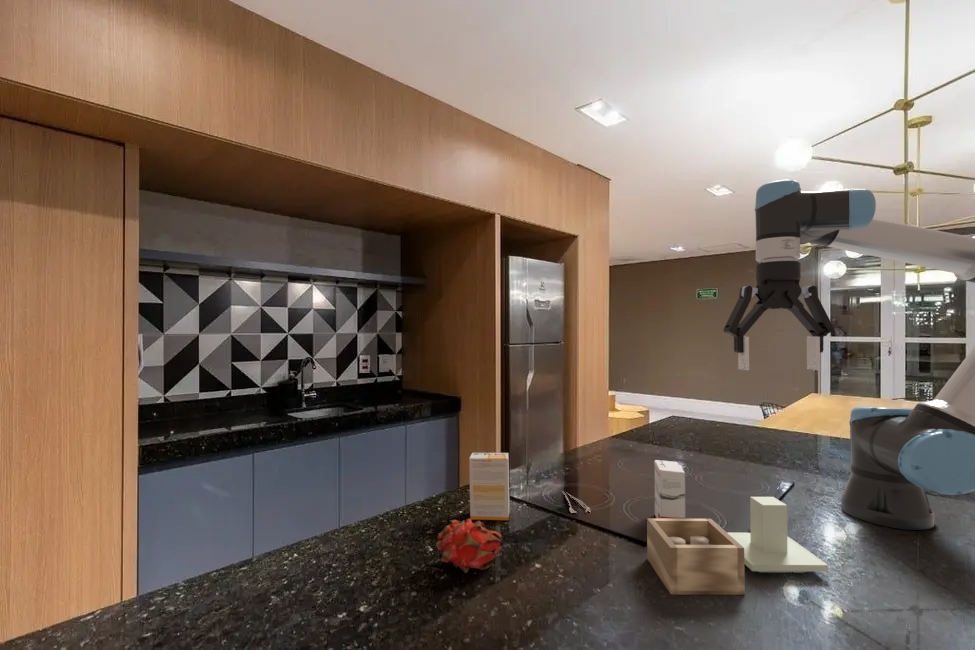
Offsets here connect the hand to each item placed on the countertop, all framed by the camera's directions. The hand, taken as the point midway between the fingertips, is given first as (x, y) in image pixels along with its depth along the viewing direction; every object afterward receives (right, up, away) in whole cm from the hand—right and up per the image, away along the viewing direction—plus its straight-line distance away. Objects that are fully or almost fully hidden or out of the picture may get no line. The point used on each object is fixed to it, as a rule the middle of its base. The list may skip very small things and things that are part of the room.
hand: (778, 369), depth 94 cm
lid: (-9, -32, -12) cm, 35 cm away
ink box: (-20, -32, +4) cm, 38 cm away
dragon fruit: (-60, -32, -13) cm, 69 cm away
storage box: (-24, -32, -17) cm, 43 cm away
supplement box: (-57, -32, +8) cm, 66 cm away
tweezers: (-38, -33, +18) cm, 53 cm away
